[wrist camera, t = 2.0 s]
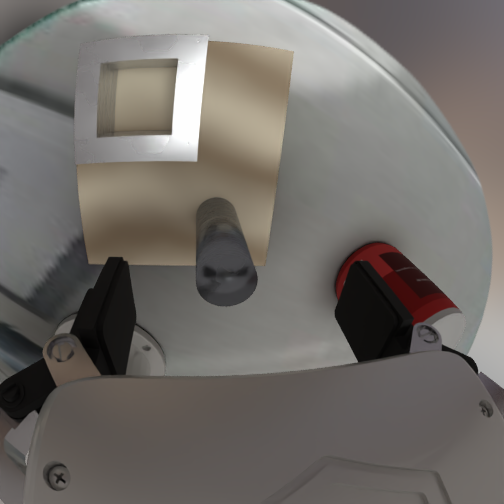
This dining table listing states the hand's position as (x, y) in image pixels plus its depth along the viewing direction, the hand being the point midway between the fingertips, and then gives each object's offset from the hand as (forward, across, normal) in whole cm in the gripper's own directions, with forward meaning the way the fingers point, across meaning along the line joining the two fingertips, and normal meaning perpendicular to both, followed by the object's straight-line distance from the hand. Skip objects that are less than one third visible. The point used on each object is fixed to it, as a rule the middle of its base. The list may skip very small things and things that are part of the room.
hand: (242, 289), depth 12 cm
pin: (+9, +1, +1) cm, 9 cm away
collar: (+10, +6, -7) cm, 13 cm away
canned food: (+11, -14, +7) cm, 19 cm away
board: (+11, +4, -3) cm, 12 cm away
